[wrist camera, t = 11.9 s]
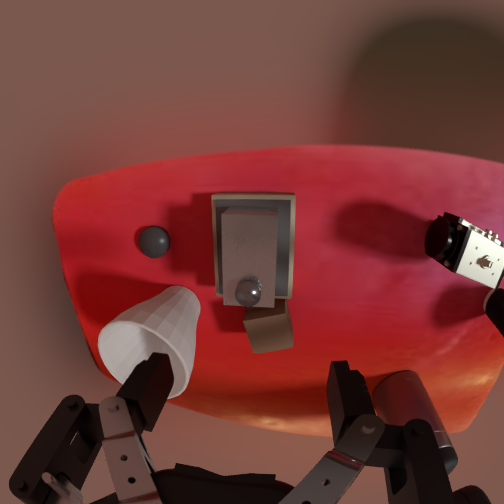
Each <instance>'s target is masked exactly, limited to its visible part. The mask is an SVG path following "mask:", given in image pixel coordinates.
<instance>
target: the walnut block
mask: <svg viewBox="0 0 504 504" xmlns="http://www.w3.org/2000/svg"><path fill="white" fill-rule="evenodd" d="M243 322H244V325H245V329H246V332H247V335H248V338H249V341H250V344H251V347H252V350H253V353H254V354H257V353H263V352H270V351H276V350H282V349H287V348H293V329H292V322H291V318H290V314H289V310H288V305H287V301H286V299H282V298H275V301H274V308H270V307H246V311H245V315H244V319H243Z"/></svg>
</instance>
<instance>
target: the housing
mask: <svg viewBox="0 0 504 504" xmlns="http://www.w3.org/2000/svg"><path fill="white" fill-rule="evenodd" d="M221 223H222V272H223V303H224V305H234V306H246V307H270V308H274V301H275V280H276V257H277V230H278V208H272V207H230V208H228V209H227V210H226V211H225V212H224V213H222V214H221Z"/></svg>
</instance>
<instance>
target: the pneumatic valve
mask: <svg viewBox="0 0 504 504" xmlns="http://www.w3.org/2000/svg"><path fill="white" fill-rule="evenodd" d="M490 234H492V236H491V235H490ZM496 238H498V235H497V234H495V233H492V231H490V230H488V229H486V231H483V230H481V229H480V228H478V227H476V226H475V225H473V224H471V223H469V222H468V221H466V220H464V219H462V218H460V217H458V216H455V215H452V214H450V213H447V212H444V215H443V217H442V216H439V215H438V218H437V219H435V220H434V221H433V222H432V223H431V225H430V226H429V228H428V230H427V232H426V237H425V253H426V254H427V255H428V256H429V257H431V258H433V259H435V260H436V261H437V262H439V263H440V264H442V265H443V266H444V267H446V268H447V269H449V270H450V271H451V272H454V273H456V274H459V275H461V276H464V277H466V278H469V279H471V280H474V281H476V282H478V283H481V284H483V285H486V286H488V287H490V288H493V289H495V290H497V289H498V287H499V285H500V282H501V280H502V278H503V276H504V248H503V247H502V246H503V242H501V241H500V240H498V239H496Z"/></svg>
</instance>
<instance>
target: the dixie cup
mask: <svg viewBox="0 0 504 504" xmlns="http://www.w3.org/2000/svg"><path fill="white" fill-rule="evenodd" d="M483 308H484V311H485V312H486V315H487V316H488V317H489V319H490V320H491V321H492V322H493V324H494V325H495V326H496V328H497V329H498V330H499V331H500V333H501V334H502V335H503V337H504V289H502V288H498V289H497V290H495V289H492V290H490V291H489V293H488V294H487V296H486V298H485V300H484V304H483Z"/></svg>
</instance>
